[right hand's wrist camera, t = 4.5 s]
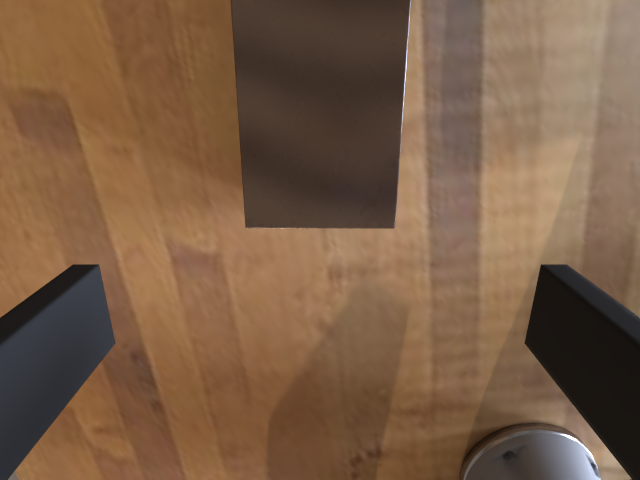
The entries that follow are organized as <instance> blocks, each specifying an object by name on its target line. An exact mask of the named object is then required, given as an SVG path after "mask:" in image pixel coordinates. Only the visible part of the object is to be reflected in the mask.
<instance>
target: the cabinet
mask: <svg viewBox="0 0 640 480" xmlns="http://www.w3.org/2000/svg"><path fill="white" fill-rule="evenodd" d="M410 6H411V0H231V11H232V26H233V42H234V57H235V72H236V88H237V103H238V119H239V134H240V149H241V165H242V180H243V195H244V211H245V226H246V228H395V221H396V207H397V192H398V178H399V164H400V149H401V135H402V121H403V106H404V92H405V78H406V63H407V49H408V35H409V20H410Z"/></svg>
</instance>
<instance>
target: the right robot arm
mask: <svg viewBox="0 0 640 480" xmlns="http://www.w3.org/2000/svg"><path fill="white" fill-rule="evenodd" d="M114 344H115V339H114V334H113V330H112V325H111V320H110V315H109V310H108V306H107V301H106V296H105V291H104V286H103V282H102V277H101V272H100V267H99V265H72V266H71V267H69V268H68V269H66V270H65V271H64V272H62V273H61V274H60V275H58V276H57V277H56V278H54V279H53V280H51V281H50V282H49V283H47V284H46V285H45V286H43V287H42V288H40V289H39V290H38V291H36V292H35V293H34V294H32V295H31V296H30V297H28V298H27V299H25V300H24V301H23V302H21V303H20V304H19V305H17V306H16V307H15V308H13V309H12V310H10V311H9V312H8V313H6V314H5V315H4V316H2V317H1V318H0V480H8V478H9V477H10V476H11V475H12V473H13V472H14V471H15V470H16V468H17V467H18V466H19V465H20V463H21V462H22V461H23V459H24V458H25V457H26V456H27V454H28V453H29V452H30V451H31V449H32V448H33V447H34V446H35V444H36V443H37V442H38V440H39V439H40V438H41V437H42V435H43V434H44V433H45V432H46V430H47V429H48V428H49V427H50V425H51V424H52V423H53V421H54V420H55V419H56V418H57V416H58V415H59V414H60V413H61V411H62V410H63V409H64V408H65V406H66V405H67V404H68V402H69V401H70V400H71V399H72V397H73V396H74V395H75V394H76V392H77V391H78V390H79V389H80V387H81V386H82V385H83V383H84V382H85V381H86V380H87V378H88V377H89V376H90V375H91V373H92V372H93V371H94V370H95V368H96V367H97V366H98V364H99V363H100V362H101V361H102V359H103V358H104V357H105V356H106V354H107V353H108V352H109V351H110V349H111V348H112V347H113V345H114ZM525 344H526V345H527V347H528V348H529V349H530V351H531V352H532V353H533V354H534V356H535V357H536V358H537V359H538V361H539V362H540V363H541V364H542V366H543V367H544V368H545V370H546V371H547V372H548V373H549V375H550V376H551V377H552V378H553V380H554V381H555V382H556V383H557V385H558V386H559V387H560V389H561V390H562V391H563V392H564V394H565V395H566V396H567V397H568V399H569V400H570V401H571V402H572V404H573V405H574V406H575V408H576V409H577V410H578V411H579V413H580V414H581V415H582V416H583V418H584V419H585V420H586V421H587V423H588V424H589V425H590V427H591V428H592V429H593V430H594V432H595V433H596V434H597V435H598V437H599V438H600V439H601V440H602V442H603V443H604V444H605V446H606V447H607V448H608V449H609V451H610V452H611V453H612V454H613V456H614V457H615V458H616V459H617V461H618V462H619V463H620V465H621V466H622V467H623V468H624V470H625V471H626V472H627V473H628V475H629V476H630V477H631V478H632V480H640V318H639V317H638V316H636V315H635V314H634V313H632V312H631V311H630V310H628V309H627V308H625V307H624V306H623V305H621V304H620V303H619V302H617V301H616V300H615V299H613V298H612V297H610V296H609V295H608V294H606V293H605V292H604V291H602V290H601V289H600V288H598V287H597V286H595V285H594V284H593V283H591V282H590V281H589V280H587V279H586V278H584V277H583V276H582V275H580V274H579V273H578V272H576V271H575V270H574V269H572V268H571V267H569V266H568V265H541V267H540V272H539V277H538V282H537V286H536V291H535V296H534V301H533V306H532V310H531V315H530V320H529V325H528V330H527V334H526V339H525ZM460 480H601V479H600V474H599V470H598V467H597V465H596V463H595V461H594V459H593V457H592V455H591V454H590V452H589V451H588V449H587V448H586V447H585V445H584V444H583V443H582V441H581V440H580V439H579V438H578V437H577V436H576V435H574V434H573V433H571V432H570V431H568V430H566V429H563V428H561V427H558V426H554V425H549V424H541V423H531V424H521V425H516V426H512V427H508V428H505V429H503V430H500V431H498V432H496V433H494V434H492V435H490V436H488V437H487V438H485V439H484V440H482V441H481V442H480V443H479V444H477V445H476V446H475V447H474V448H473V449H472V450H471V452H470V453H469V454H468V456H467V457H466V459H465V461H464V463H463V465H462V468H461V472H460Z"/></svg>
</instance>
